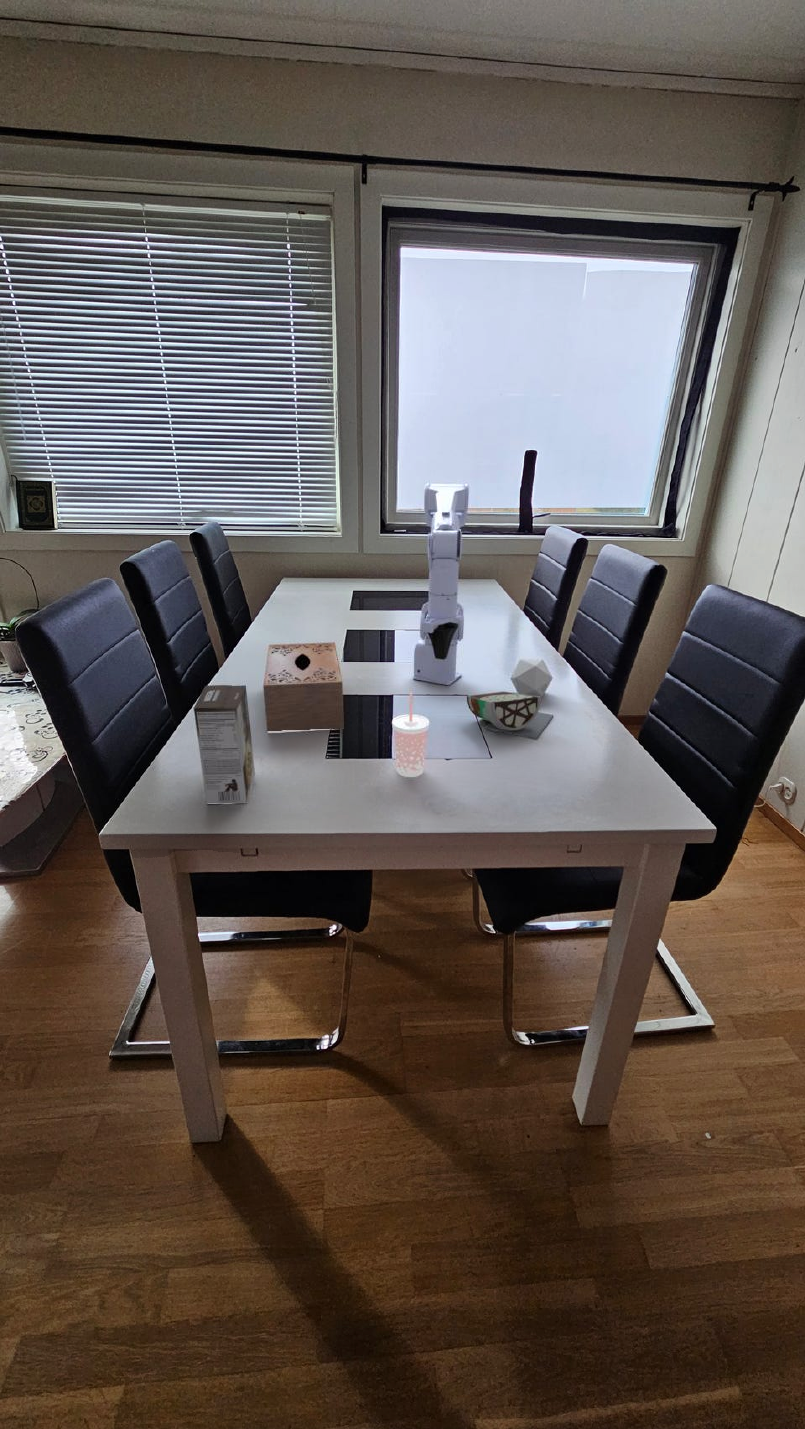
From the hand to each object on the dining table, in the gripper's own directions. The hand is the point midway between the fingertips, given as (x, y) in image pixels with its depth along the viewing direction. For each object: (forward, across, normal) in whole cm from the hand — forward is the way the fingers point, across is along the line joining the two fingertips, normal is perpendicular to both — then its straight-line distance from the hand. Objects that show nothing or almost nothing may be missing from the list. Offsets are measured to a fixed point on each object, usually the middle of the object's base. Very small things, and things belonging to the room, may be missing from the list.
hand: (440, 658), depth 128 cm
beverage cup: (+10, -30, -8) cm, 33 cm away
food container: (+8, -3, -11) cm, 14 cm away
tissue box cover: (+10, -15, +24) cm, 30 cm away
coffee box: (+10, -49, +14) cm, 52 cm away
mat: (+10, -2, -18) cm, 21 cm away
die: (+10, +14, -16) cm, 23 cm away
